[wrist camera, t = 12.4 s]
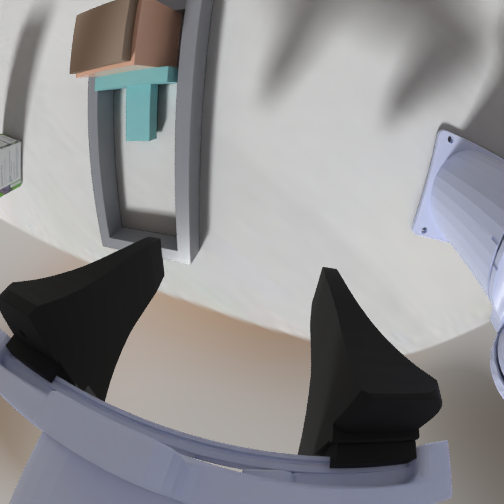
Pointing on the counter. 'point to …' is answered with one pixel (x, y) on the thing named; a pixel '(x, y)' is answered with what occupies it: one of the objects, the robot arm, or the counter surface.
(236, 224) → the counter surface
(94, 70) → the tan cardboard cube box
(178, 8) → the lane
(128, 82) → the pusher
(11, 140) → the syrup box
